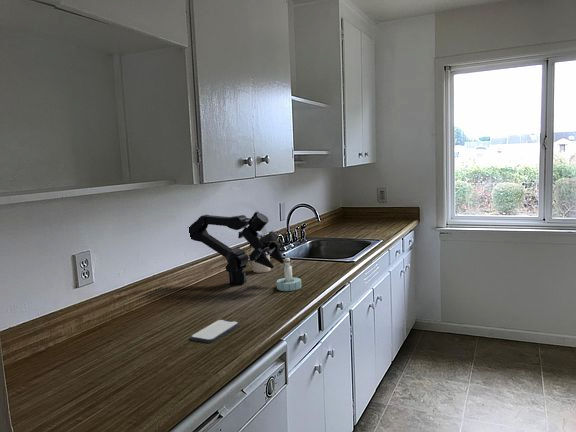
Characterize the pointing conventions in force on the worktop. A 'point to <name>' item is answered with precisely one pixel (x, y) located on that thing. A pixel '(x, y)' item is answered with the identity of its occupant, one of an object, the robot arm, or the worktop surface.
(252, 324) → the worktop surface
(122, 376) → the worktop surface
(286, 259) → the white rounded peg
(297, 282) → the pale blue segmented ring
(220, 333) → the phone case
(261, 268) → the teacup with lid
